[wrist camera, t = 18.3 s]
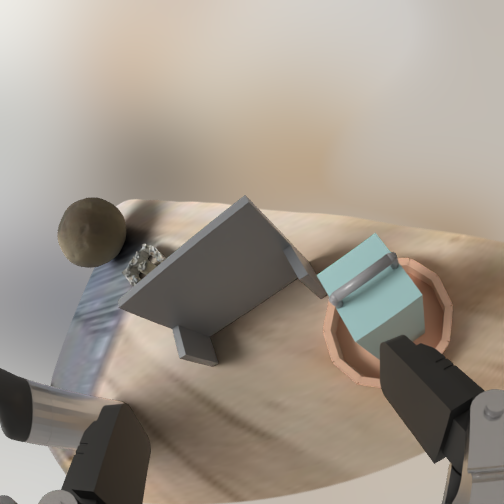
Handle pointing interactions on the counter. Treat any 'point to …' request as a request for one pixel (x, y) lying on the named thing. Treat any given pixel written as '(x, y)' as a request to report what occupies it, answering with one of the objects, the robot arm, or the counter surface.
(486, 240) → the counter surface
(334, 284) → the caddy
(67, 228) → the cantaloupe
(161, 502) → the counter surface
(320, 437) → the counter surface
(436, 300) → the dish
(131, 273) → the miniature stone ruin
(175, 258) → the screen
